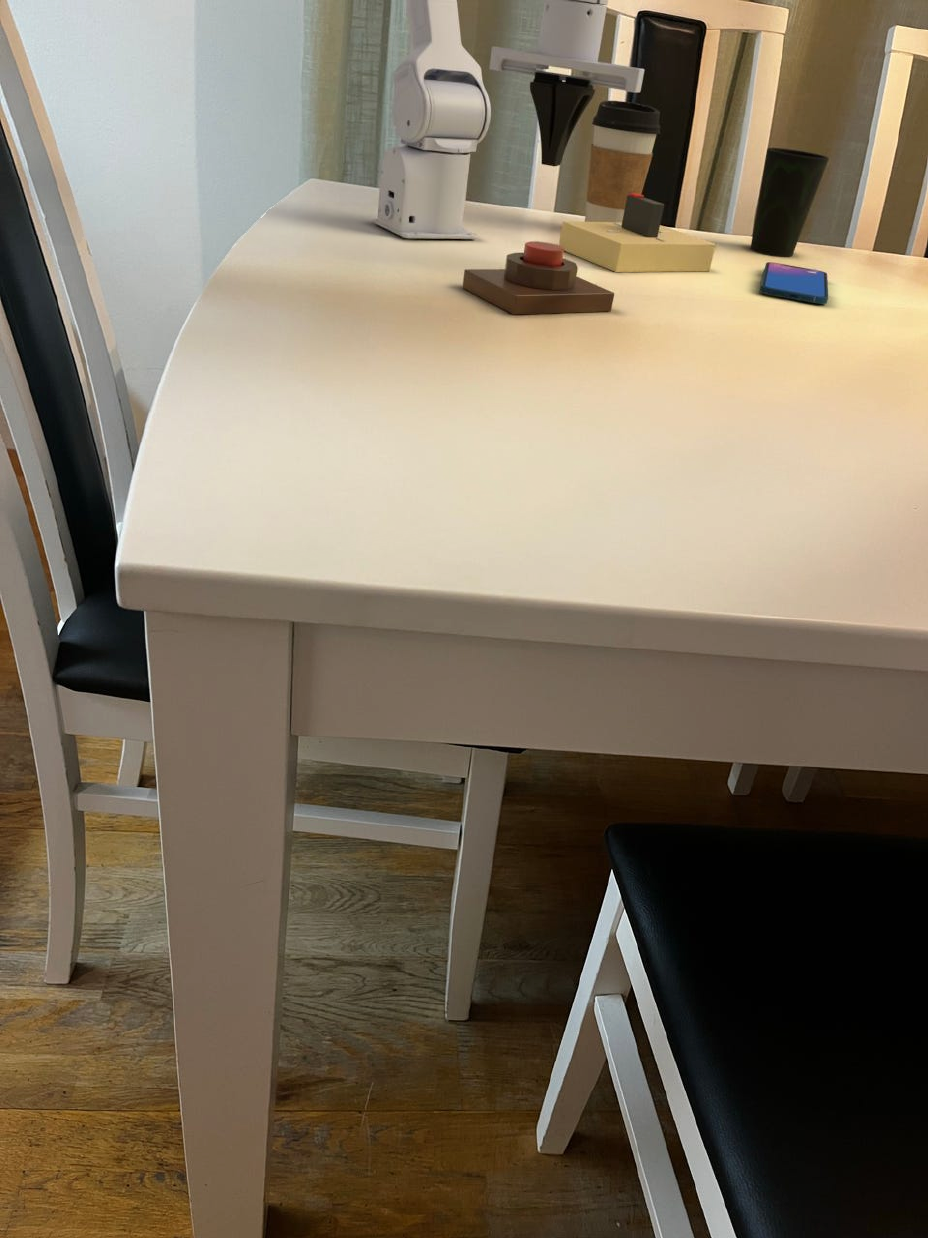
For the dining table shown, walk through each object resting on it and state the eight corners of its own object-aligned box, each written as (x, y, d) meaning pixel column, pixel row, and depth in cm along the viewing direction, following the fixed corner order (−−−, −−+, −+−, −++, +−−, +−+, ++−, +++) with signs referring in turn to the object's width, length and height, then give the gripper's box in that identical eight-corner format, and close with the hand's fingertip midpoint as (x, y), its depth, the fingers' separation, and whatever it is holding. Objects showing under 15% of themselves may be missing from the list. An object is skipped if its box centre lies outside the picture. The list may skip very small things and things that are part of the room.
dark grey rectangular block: (657, 237, 110) (665, 201, 108) (646, 236, 109) (653, 201, 107) (632, 227, 114) (638, 193, 112) (621, 226, 113) (627, 192, 111)
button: (536, 270, 87) (539, 250, 86) (514, 260, 90) (517, 240, 89) (568, 270, 89) (571, 250, 88) (546, 260, 92) (549, 241, 91)
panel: (615, 271, 106) (621, 241, 104) (558, 248, 114) (562, 219, 112) (709, 270, 113) (716, 242, 111) (649, 248, 120) (654, 221, 119)
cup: (804, 253, 131) (832, 156, 125) (796, 261, 125) (825, 159, 118) (747, 242, 133) (772, 146, 127) (737, 249, 127) (762, 149, 121)
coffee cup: (636, 233, 129) (662, 106, 121) (640, 245, 121) (667, 111, 114) (574, 224, 129) (595, 97, 121) (574, 235, 122) (596, 101, 114)
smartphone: (760, 286, 104) (765, 260, 117) (757, 294, 105) (763, 268, 117) (829, 299, 103) (827, 271, 115) (826, 307, 103) (825, 279, 116)
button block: (513, 314, 85) (519, 273, 83) (461, 287, 91) (466, 248, 90) (611, 311, 90) (618, 272, 89) (556, 285, 97) (562, 249, 95)
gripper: (662, 14, 90) (631, 174, 97) (516, -6, 93) (496, 149, 101) (645, 10, 84) (613, 180, 91) (490, -11, 88) (471, 153, 95)
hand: (550, 164), depth 95 cm, fingers closed
